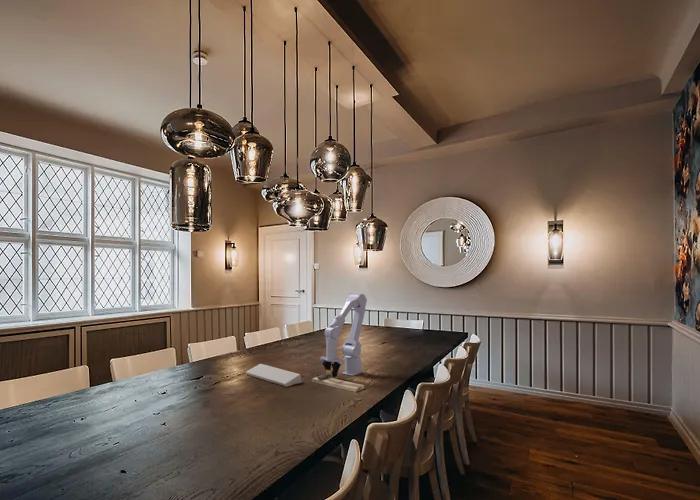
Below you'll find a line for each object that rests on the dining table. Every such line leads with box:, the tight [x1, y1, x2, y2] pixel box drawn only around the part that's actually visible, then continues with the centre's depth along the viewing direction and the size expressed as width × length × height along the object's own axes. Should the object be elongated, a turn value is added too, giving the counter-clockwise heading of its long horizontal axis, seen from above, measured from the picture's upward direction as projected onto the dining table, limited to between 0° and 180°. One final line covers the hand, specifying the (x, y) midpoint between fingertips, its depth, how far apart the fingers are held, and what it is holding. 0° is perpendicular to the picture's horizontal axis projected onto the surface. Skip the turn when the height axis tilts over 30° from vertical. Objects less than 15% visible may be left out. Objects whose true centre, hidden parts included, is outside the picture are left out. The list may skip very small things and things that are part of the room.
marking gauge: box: [317, 367, 339, 380], centre depth 195 cm, size 12×4×5 cm, turn 142°
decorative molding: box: [245, 363, 302, 388], centre depth 199 cm, size 34×5×10 cm
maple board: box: [311, 375, 365, 393], centre depth 187 cm, size 7×28×2 cm, turn 52°
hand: (331, 376), depth 197 cm, fingers closed on marking gauge, 4 cm apart
